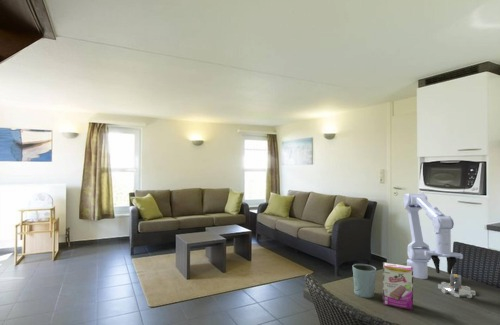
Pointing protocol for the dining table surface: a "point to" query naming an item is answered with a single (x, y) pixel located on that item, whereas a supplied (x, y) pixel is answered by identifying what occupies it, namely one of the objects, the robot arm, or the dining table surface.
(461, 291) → the sprocket
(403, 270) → the candy bar box
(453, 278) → the link block
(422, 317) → the dining table surface
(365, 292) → the teal cup
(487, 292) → the dining table surface
